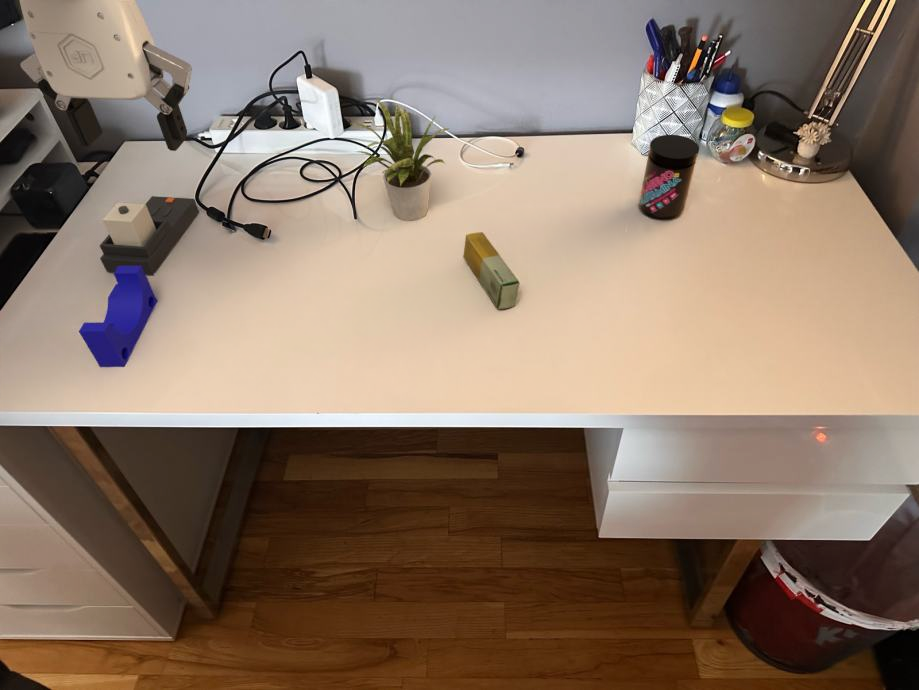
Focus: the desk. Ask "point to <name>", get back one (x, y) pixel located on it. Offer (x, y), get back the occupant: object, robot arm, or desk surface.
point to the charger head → (129, 224)
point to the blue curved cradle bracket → (121, 318)
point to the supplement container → (668, 176)
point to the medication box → (491, 270)
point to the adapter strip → (153, 236)
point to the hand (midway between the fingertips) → (135, 142)
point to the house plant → (404, 167)
